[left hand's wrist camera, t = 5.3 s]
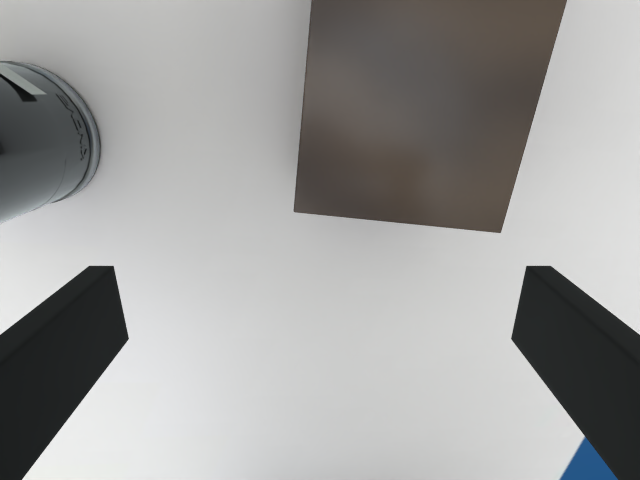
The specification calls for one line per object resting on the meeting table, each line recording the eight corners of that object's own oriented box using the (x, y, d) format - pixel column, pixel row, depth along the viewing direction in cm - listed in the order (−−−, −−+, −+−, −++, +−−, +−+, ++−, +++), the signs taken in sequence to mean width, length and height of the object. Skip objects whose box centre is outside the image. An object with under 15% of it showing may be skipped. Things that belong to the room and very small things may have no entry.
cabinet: (324, -88, 23) (327, -182, 15) (510, -63, 24) (608, -142, 16) (300, 178, 29) (293, 212, 21) (451, 194, 29) (500, 233, 21)
